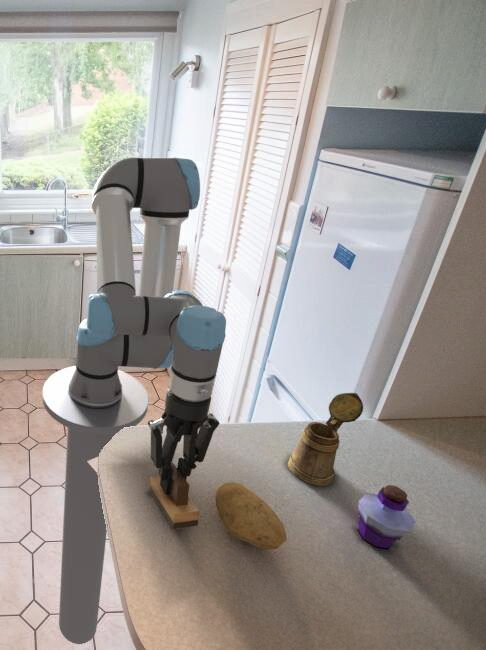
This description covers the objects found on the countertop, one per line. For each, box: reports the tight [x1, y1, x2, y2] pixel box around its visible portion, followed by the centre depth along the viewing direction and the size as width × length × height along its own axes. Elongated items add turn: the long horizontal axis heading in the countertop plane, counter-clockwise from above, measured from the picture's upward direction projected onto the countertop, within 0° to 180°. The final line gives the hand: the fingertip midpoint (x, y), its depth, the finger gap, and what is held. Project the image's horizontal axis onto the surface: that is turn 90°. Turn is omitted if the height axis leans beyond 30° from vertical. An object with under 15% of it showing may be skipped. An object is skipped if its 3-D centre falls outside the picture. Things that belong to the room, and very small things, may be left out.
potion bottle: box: [357, 484, 417, 551], centre depth 84 cm, size 9×9×12 cm
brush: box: [149, 462, 200, 531], centre depth 89 cm, size 11×5×8 cm, turn 9°
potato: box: [214, 481, 288, 550], centre depth 85 cm, size 10×14×8 cm
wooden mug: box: [287, 392, 364, 486], centre depth 99 cm, size 9×14×18 cm, turn 118°
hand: (171, 488), depth 90 cm, fingers closed on brush, 2 cm apart
